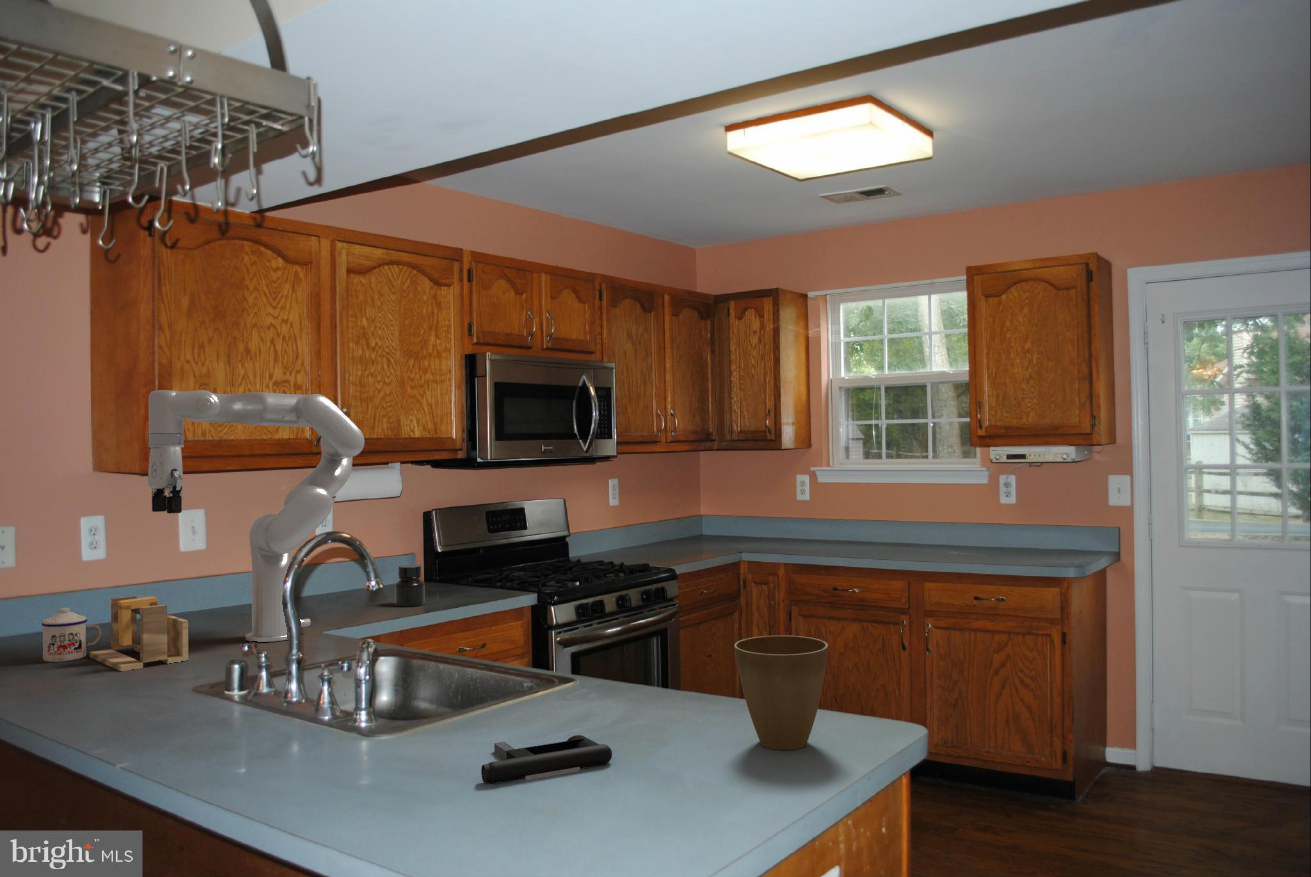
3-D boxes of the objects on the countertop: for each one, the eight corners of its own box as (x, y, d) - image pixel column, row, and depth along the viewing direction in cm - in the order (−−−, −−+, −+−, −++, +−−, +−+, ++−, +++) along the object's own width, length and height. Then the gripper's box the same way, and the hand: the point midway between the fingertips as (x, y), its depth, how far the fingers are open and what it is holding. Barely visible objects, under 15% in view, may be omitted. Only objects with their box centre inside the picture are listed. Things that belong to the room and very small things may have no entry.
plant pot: (777, 724, 164) (776, 631, 164) (848, 744, 153) (846, 643, 153) (716, 742, 154) (715, 643, 154) (786, 765, 143) (785, 657, 143)
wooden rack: (89, 657, 224) (89, 600, 224) (153, 647, 234) (153, 593, 234) (121, 671, 209) (121, 610, 209) (188, 660, 219) (188, 603, 219)
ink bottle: (427, 602, 301) (426, 564, 301) (425, 606, 292) (424, 567, 292) (395, 603, 299) (394, 564, 299) (392, 607, 291) (392, 568, 291)
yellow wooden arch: (154, 638, 225) (153, 596, 225) (159, 639, 223) (157, 597, 223) (119, 643, 220) (117, 600, 220) (123, 645, 218) (121, 602, 218)
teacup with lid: (42, 664, 217) (42, 613, 217) (41, 657, 224) (40, 607, 224) (103, 657, 223) (103, 607, 223) (100, 650, 231) (100, 602, 231)
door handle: (457, 743, 148) (488, 767, 134) (577, 725, 157) (618, 746, 143) (457, 765, 148) (489, 792, 134) (577, 746, 157) (618, 769, 143)
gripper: (137, 441, 234) (137, 511, 234) (162, 441, 222) (163, 514, 222) (169, 441, 240) (169, 510, 240) (196, 441, 228) (196, 512, 228)
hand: (166, 512), depth 231 cm, fingers open, 9 cm apart
